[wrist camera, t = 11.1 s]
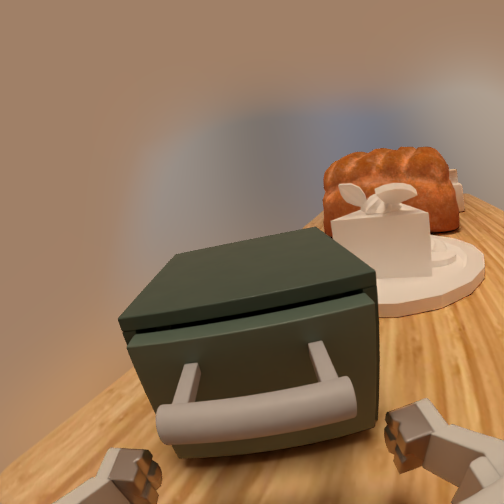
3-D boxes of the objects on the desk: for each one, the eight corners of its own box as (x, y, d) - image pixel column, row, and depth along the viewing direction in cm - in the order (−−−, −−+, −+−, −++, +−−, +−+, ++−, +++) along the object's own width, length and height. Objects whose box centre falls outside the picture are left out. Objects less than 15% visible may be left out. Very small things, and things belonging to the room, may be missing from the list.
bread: (462, 234, 43) (451, 139, 39) (319, 241, 58) (304, 158, 54) (456, 218, 54) (447, 142, 50) (340, 225, 69) (329, 156, 65)
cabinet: (377, 420, 14) (376, 270, 13) (177, 453, 15) (116, 318, 13) (329, 326, 27) (315, 226, 25) (202, 349, 27) (175, 254, 25)
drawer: (401, 485, 9) (424, 354, 8) (166, 519, 9) (85, 407, 8) (327, 330, 24) (316, 243, 23) (203, 353, 25) (179, 270, 23)
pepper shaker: (451, 213, 58) (447, 170, 56) (443, 211, 62) (439, 170, 60) (465, 211, 58) (461, 169, 56) (457, 209, 62) (452, 168, 59)
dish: (506, 312, 20) (508, 176, 17) (253, 314, 33) (231, 206, 30) (468, 238, 40) (462, 165, 37) (323, 247, 53) (312, 181, 50)
